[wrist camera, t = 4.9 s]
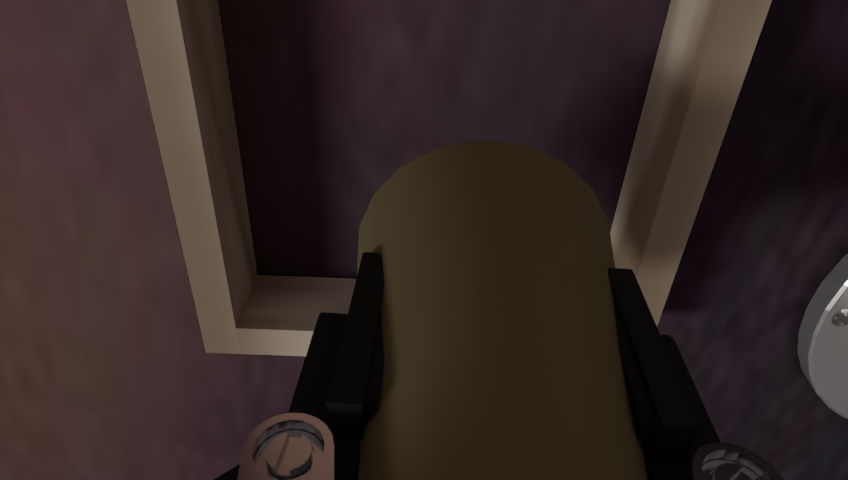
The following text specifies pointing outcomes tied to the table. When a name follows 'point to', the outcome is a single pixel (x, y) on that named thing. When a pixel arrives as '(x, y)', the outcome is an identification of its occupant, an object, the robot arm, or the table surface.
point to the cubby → (309, 296)
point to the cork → (496, 323)
